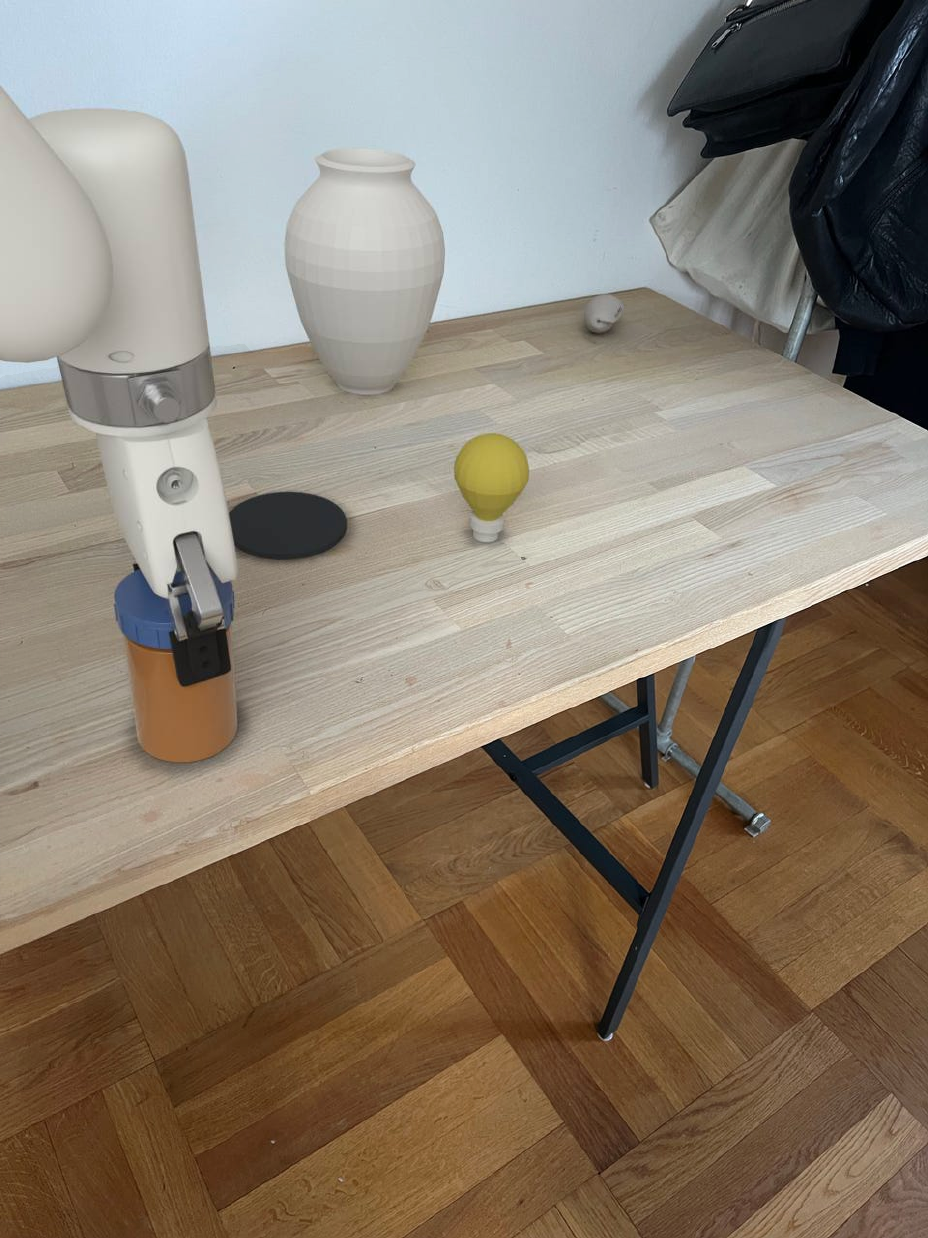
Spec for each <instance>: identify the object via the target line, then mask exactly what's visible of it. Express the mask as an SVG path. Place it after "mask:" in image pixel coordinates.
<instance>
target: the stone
mask: <svg viewBox="0 0 928 1238" xmlns="http://www.w3.org/2000/svg"><path fill="white" fill-rule="evenodd" d="M624 310H625V305H624V304H623V301H621V300H620V299H619V298H618V297H616V296H614V295H612V294H608V293H606V294H605V293H604V294H599V295H597V296H594V297H593V298H591V299H590V301H588V302H587V304H586V306H585V308H584V311H583V321H584V323H585V326H586V327H587V329H588V330H589V331H590V332H591V333H595V334H603V333H605V332H607V331H609V330H610V329H611V328H612V327H613V325H614V323H615V322H617V321H618V320H619V319H620V318H621V316H622V315H623V314H624Z"/></svg>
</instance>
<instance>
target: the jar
mask: <svg viewBox="0 0 928 1238" xmlns="http://www.w3.org/2000/svg"><path fill="white" fill-rule="evenodd" d="M232 622H233V621H232ZM232 622H231V624H230V626H229V627H228V628H227V629H226V634H227V641H228V648H229V656H230V663H231V670H230V672H229V673H227V674H225V675H222V676H219V677H215V678H212V679H209V680H206V681H203V682H199V683H196V684H193V685H190V686H186V687H183V686H181V685H180V683H179V681H178V679H177V675H176V669H175V664H174V659H173V653H172V649H160V648H152V647H148V646H144V645H141V644H138V643H136V642H134V641H132V640H130V639H129V638H128V637H126V636H125V635H124V634H122V638H123V647H124V653H125V660H126V668H127V674H128V681H129V688H130V689H129V690H130V696H131V703H132V710H133V716H134V725H135V731H136V738H137V741H138V744H139V746H140V747H141V748H142V749H143V751H145V752H146V753H147V754H148V755H150V756H151V757H154V758H155V759H159V760H161V761H165V762H169V763H191V762H192V763H193V762H198V761H200V760H201V761H202V760H205V759H208V758H211V757H213V756H215V755H217V754H219V753H220V752H222V751H223V750H224V749H226V748H227V747H228V746H229V745H230V744H231V743H232V742H233V740H234V738H235V736H236V735H237V731H238V710H237V692H236V677H235V673H236V672H235V658H234V641H233V623H232Z"/></svg>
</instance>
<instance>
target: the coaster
mask: <svg viewBox="0 0 928 1238" xmlns="http://www.w3.org/2000/svg"><path fill="white" fill-rule="evenodd" d="M228 512H229V517H230V523H231V529H232V535H233V540H234V546H235V548H236V549H239V550H240V551H243V553H246V554H249V555H251V556H255V557H258V558H264V559H271V560H296V559H297V560H298V559H304V558H307V557H308V558H309V557H312V556H315V555H318V554H322V553H324V552H326V551H328V550H330V549H332V548H333V547H335V546H336V545H338V543H340V542H341V541H342V540H343V538H344V537H345V534H346V532H347V529H348V526H347V525H348V520H347V515H346V514H345V512H344V511H343V508H341V507H340V506H339V505H338V504H337V503H335V502H334V501H332V500H330V499H328V498H325V497H323V496H320V495H317V494H313V493H308V492H301V491H277V492H269V493H263V494H260V495H256V496H253V497H250V498H247V499H246V500H244V501H242V502H240V503H238V504H236V505H235V506H234V507H233V508H232V509H231V510H230V511H228Z"/></svg>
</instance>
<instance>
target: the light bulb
mask: <svg viewBox="0 0 928 1238" xmlns="http://www.w3.org/2000/svg"><path fill="white" fill-rule="evenodd" d="M453 467H454V468H453V474H454V477H453V478H454V480H455V482H456V484H457V487H458V489H459V491H460V493H461V495H462V497H463V499H464V501H465V502H466V503H467V506H469V508H470V509H471V511H470V514H469V519H468V520H469V521H468V523H469V527H470V529H471V530H472V536H473V539H475V540H476V541H479V542H482V543H492V542H493V543H494V542H495V541H497V540H498V538H499V533H500V532H501V531H503V530H504V527H505V520H506V517H505V514H504V513H505V512H506V511H507V510H508V509H509V508H511V506H512V505H513V504H514V503H515V502H516V501H517V499H518V498H519V496H520V495H521V494H522V492H523V491H524V489H525V488H526V486H527V484H528V482H529V478H530V467H529V461H528V458H527V455H526V453H525V451H524V449H523V448H522V447H521V446H520V445H519V444H518V442H516V441H515V440H514V439H512V438H511V437H509V436H507V435H504V434H501V433H495V432H490V433H489V432H487V433H484V434H479V435H476V436H475V437H473V438H471V439H470V440H468V441H467V442H466V443H465V444H464V445H463V446H462V447H461V449H460V450H459V452H458V454H457V455H456V458H455V460H454V466H453Z"/></svg>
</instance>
